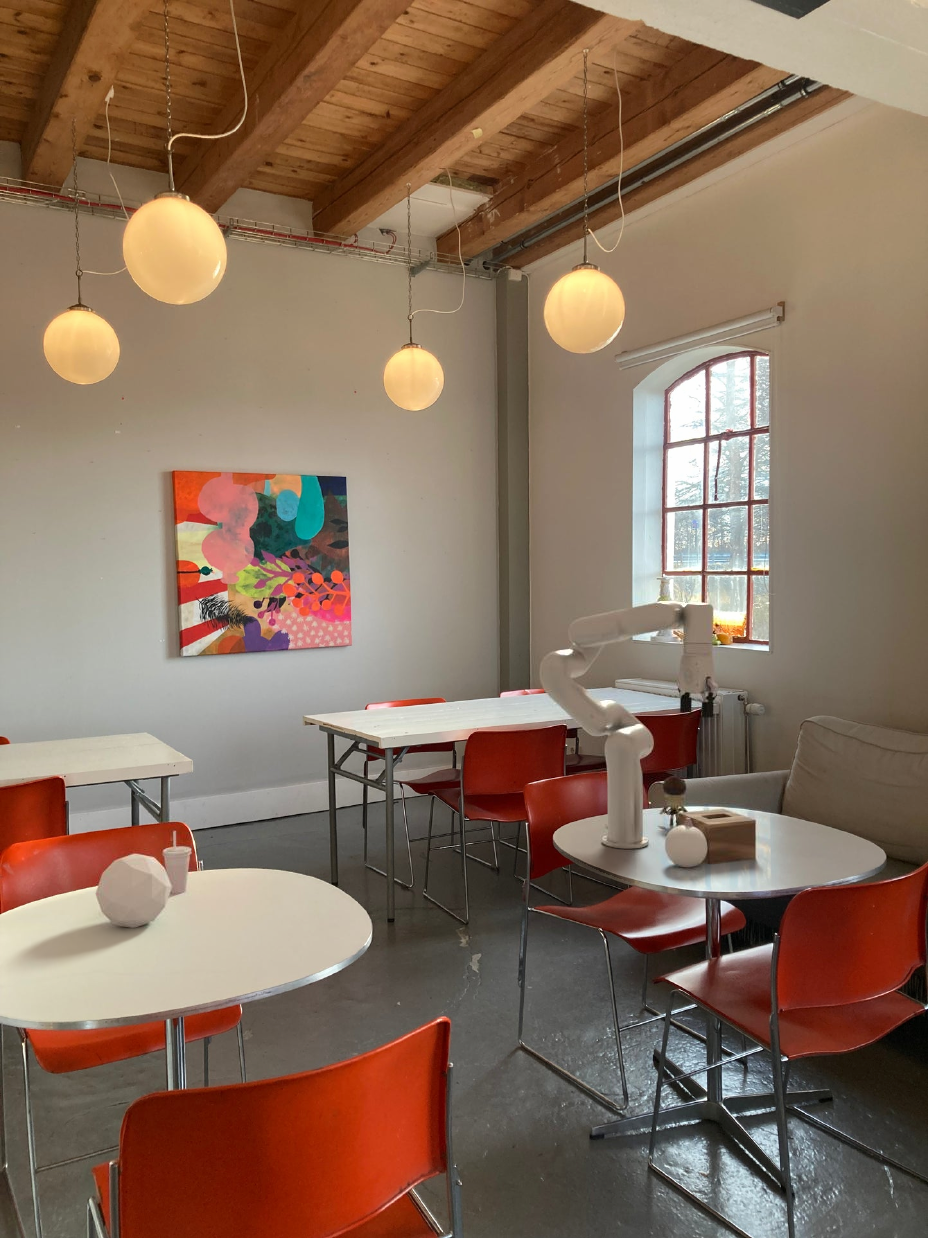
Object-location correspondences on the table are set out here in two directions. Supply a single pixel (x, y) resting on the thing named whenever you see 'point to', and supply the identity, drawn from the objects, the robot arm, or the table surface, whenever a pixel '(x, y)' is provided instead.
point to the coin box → (724, 834)
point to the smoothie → (177, 866)
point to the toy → (674, 797)
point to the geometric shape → (133, 890)
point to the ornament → (686, 845)
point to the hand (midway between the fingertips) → (696, 714)
